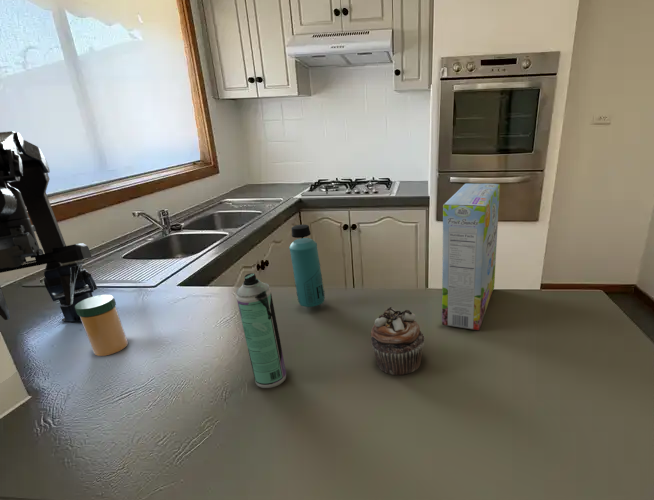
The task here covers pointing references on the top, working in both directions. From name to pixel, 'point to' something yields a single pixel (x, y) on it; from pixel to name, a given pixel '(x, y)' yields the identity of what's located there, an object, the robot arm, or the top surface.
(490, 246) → the snack box
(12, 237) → the robot arm
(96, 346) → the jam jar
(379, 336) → the cupcake
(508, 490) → the top surface
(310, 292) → the beverage bottle
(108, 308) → the jam lid
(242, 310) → the spray can
